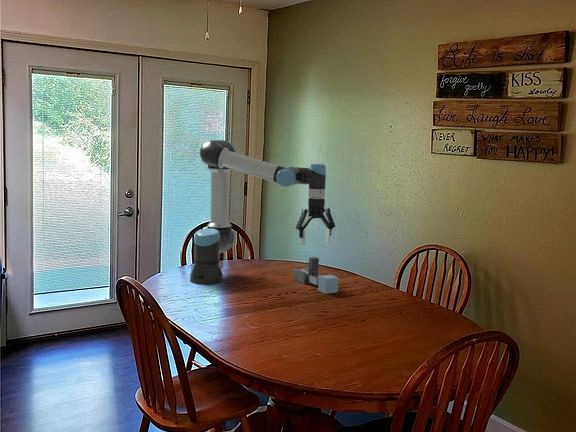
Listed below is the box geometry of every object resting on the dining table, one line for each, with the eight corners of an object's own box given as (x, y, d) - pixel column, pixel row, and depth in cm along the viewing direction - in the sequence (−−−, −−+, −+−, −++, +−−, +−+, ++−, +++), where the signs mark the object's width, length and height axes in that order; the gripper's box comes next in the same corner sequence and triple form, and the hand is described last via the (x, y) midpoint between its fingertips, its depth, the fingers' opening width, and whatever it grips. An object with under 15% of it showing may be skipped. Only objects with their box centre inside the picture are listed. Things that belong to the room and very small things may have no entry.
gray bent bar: (297, 276, 283) (298, 253, 281) (303, 276, 285) (304, 252, 283) (316, 285, 269) (317, 260, 267) (322, 284, 271) (323, 260, 269)
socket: (318, 290, 265) (318, 276, 264) (330, 288, 268) (330, 274, 267) (325, 293, 260) (326, 279, 259) (337, 292, 263) (338, 277, 262)
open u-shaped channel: (294, 279, 283) (294, 268, 282) (305, 278, 286) (306, 267, 285) (303, 283, 275) (304, 272, 274) (315, 282, 278) (316, 271, 278)
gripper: (297, 199, 259) (296, 247, 262) (343, 197, 272) (342, 243, 275) (288, 197, 266) (287, 244, 269) (334, 196, 278) (332, 240, 281)
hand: (315, 243), depth 272 cm, fingers open, 13 cm apart
